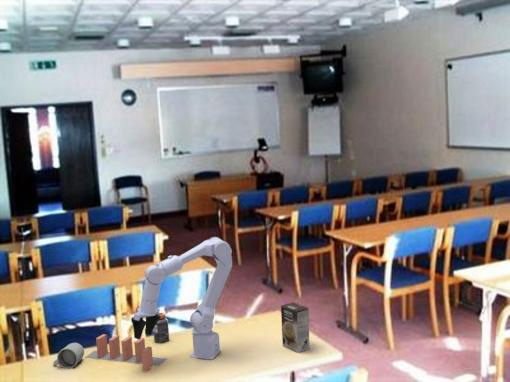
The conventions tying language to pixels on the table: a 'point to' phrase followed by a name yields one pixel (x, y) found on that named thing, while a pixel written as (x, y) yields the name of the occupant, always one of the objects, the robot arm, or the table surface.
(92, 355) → the runner mat
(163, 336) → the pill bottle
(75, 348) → the ceramic mug
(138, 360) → the domino
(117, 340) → the domino
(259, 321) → the table surface
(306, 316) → the coffee box
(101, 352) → the domino
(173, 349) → the table surface
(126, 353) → the domino
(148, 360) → the domino
